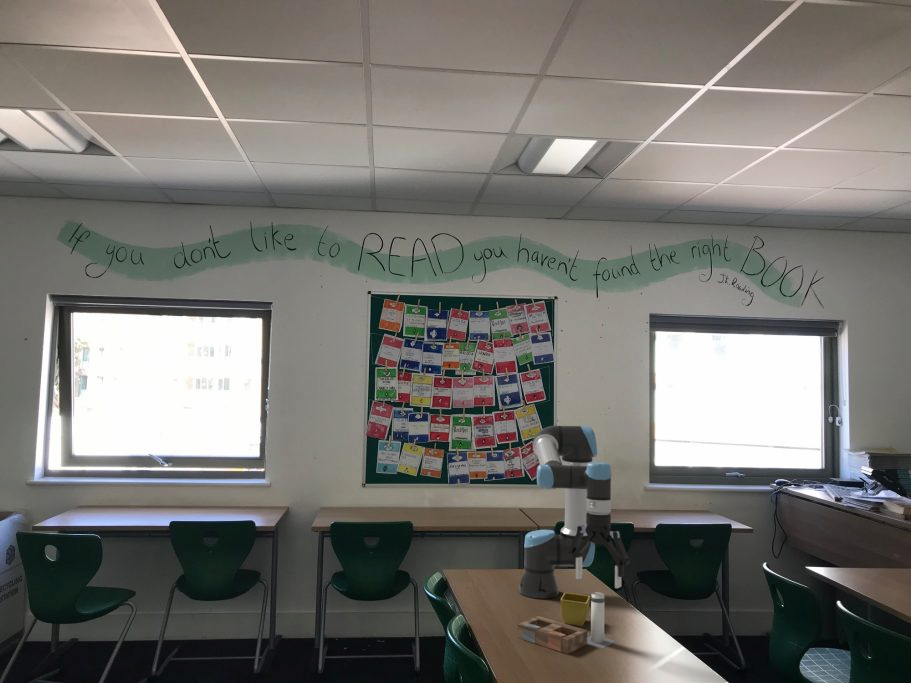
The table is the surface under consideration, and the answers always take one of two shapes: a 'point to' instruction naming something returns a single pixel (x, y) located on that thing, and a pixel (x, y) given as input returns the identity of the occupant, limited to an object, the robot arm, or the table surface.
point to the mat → (601, 645)
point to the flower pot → (574, 608)
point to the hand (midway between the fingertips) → (598, 582)
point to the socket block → (552, 634)
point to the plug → (597, 617)
